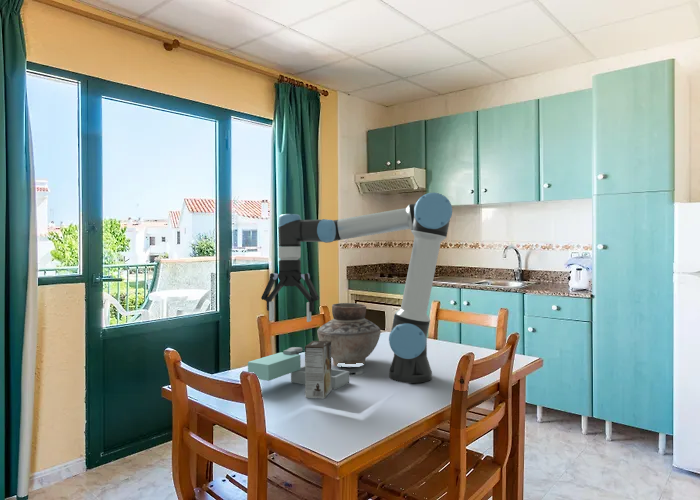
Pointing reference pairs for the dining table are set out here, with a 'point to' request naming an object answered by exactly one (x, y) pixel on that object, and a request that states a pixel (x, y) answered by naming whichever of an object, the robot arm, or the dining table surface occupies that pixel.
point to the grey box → (337, 377)
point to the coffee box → (318, 369)
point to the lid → (276, 364)
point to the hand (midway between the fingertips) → (290, 320)
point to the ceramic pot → (349, 334)
